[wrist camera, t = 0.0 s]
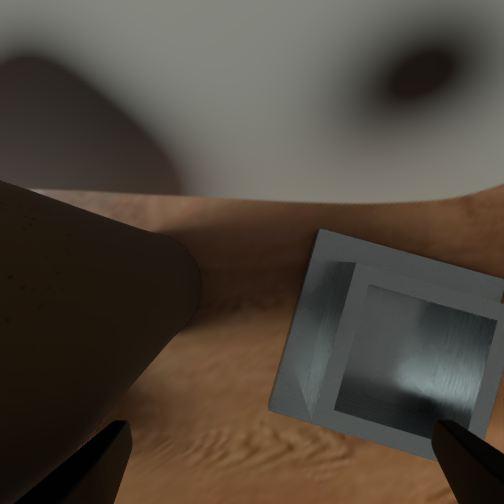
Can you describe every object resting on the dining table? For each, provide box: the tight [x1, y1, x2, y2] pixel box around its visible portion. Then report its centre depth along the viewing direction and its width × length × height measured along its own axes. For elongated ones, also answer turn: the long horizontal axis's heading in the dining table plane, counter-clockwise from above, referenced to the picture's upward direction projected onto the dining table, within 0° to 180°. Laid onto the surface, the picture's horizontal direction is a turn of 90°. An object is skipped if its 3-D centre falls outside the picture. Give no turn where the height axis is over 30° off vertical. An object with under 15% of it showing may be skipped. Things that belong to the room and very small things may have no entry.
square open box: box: [268, 228, 504, 462], centre depth 20 cm, size 16×16×5 cm
